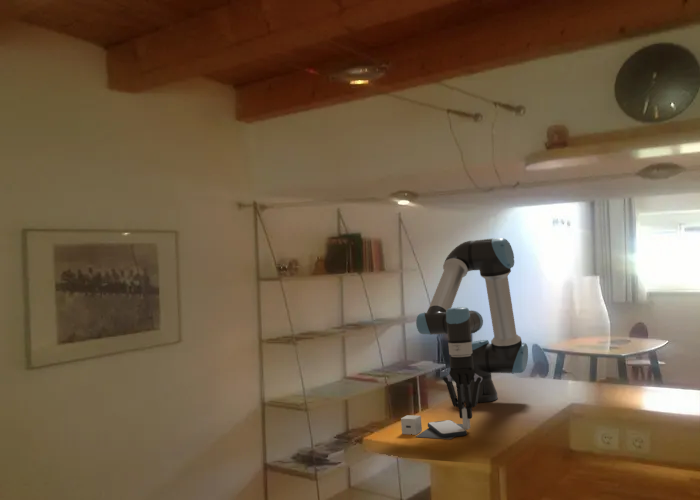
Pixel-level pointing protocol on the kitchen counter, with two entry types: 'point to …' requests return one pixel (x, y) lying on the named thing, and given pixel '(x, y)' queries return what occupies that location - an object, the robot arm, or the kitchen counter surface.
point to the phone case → (447, 429)
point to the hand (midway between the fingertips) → (466, 428)
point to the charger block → (411, 424)
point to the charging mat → (433, 434)
